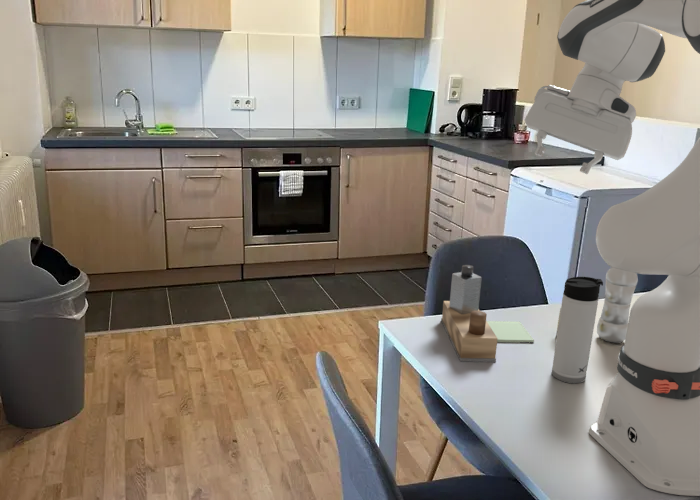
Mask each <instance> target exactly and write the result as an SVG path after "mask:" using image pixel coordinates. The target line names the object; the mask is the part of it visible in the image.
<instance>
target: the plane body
mask: <svg viewBox="0 0 700 500" xmlns="http://www.w3.org/2000/svg"><path fill="white" fill-rule="evenodd" d="M449 305H450V300H443V303H442V314H441V320H440V321H441V323H442V326H443V327H444V330H445V332H446V333H447V336H448V339H449V340H450V343H451V344H452V346H453V348H454V351H455V352H456V353H455V354H456V355H457V357H458V359H459V362H477V363H479V362H480V363H481V362H482V363H484V362H487V363H490V362H491V363H492V362H493V363H496V362H497V358H496V356H497V348H498V342H497V339H498V338H497V337H496V335H495V334H494V332H493V330H492V329H491V327H490V326H489V324H488V323H487V321H488V320H487V312H484V311H482V310H480V308H478V311H472V312H471V313H468V314H462V315H461V314H460V313H458V312H456V311H455V310H453V309H451V308H449Z"/></svg>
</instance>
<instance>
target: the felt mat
mask: <svg viewBox="0 0 700 500" xmlns="http://www.w3.org/2000/svg"><path fill="white" fill-rule="evenodd" d="M486 321H487V323H488V324H489V326H490V327H491V329H492V330H493V332H494V334H495V335H496V337H497V338H498V339H497V343H520V342H529V343H530V342H535V339H534V338H533V337H532V335H531V334H530V333H529V331H528V330H527V329H526V327H525V326H524V325H523V323H521V321H508V320H507V321H505V320H504V321H500V320H498V321H497V320H495V321H493V320H492V321H491V320H486ZM529 343H528V344H529Z"/></svg>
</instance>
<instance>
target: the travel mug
mask: <svg viewBox="0 0 700 500" xmlns="http://www.w3.org/2000/svg"><path fill="white" fill-rule="evenodd" d="M601 286H604V282H603V280H602V279H601V278H595V277H589V276H574V277H569V278H567V279H566V280H565V282H564V287H563V288H564V289H563V292H562V300H561V306H560V308H561V312H560V311H559V313H560V319H559V318H558V320H559V326H558V325H557V327H558V332H557V331H556V338H555V339H556V340H555V348H554V355H553V361H552V367H551V374H552V376H553V377H554V378H555V379H557V380H559V381H561V382H564V383H568V384H580V383H583V382H585V380H586V377H587V371H588V366H589V359H590V353H591V346H592V341H593V334H594V328H595V323H596V317H597V311H598V310H597V309H598V304H599V298H600V296H599V294H600V288H601Z"/></svg>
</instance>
